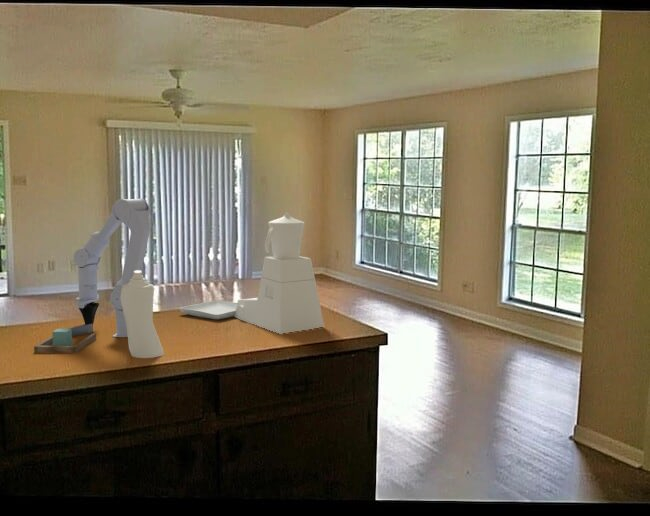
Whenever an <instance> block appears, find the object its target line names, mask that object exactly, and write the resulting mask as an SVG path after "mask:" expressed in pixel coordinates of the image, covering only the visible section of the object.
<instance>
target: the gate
mask: <svg viewBox="0 0 650 516" xmlns="http://www.w3.org/2000/svg"><path fill="white" fill-rule="evenodd" d="M64 329H72V338H73V337H77V336H83V335H87V334H92V333H94V323H93V324H92V323H89V324H85V323H83V324H80V325H75V326H71V327H66V328H64ZM91 332H92V333H91ZM82 334H83V335H82Z"/></svg>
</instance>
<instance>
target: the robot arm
mask: <svg viewBox="0 0 650 516" xmlns="http://www.w3.org/2000/svg"><path fill="white" fill-rule="evenodd" d="M151 210H152V208H151V207H150V205H149V203H148V202H147V201H146V200H145V199H144V198H127V199H125V198H119V199H117V200H116V201H115V203H114V205H112V206H111V212H110V214H109V215H108V218H107V219H106V221H105V222H104V224H103V225H102V227H101V228H100V230H99V231H95V232H93V233H91V234H90V238H89V239H88V240H87V242H86V243H85V244H84V245H83V247H82V248H79V249H76V250H75V252H74V253H73V262H74V264H75V265H76V266H77V271H78V272H77V273H78V277H77V278H78V297H76V298H75V301H77V302H76V307H77V309H78V310H79V311H80V313H81V315H82V318H83V322H84V324H89V323H92V324H93V325H94V322H95V317H96V314H97V310H98V309H99V307H100V303H99V302H97V301H99V300H100V294H98V269H99V264H100V262H101V255H102V253H104V251H105V250H106V249H107V247H108V246H109V244H110V237H112V235H113V234H114V232H116V230H117V229H118V228H119V227H120V226H121V225H122V224H123V225H125V227H127V228H128V229H129V230H130V235H129V240H128V246H127V250H126V255H125V260H124V266H123V271H122V275H121V278H120V279H119V280H118V281H117V282H116V284H115V285H114V289H113V291H112V292H111V293H110V298H109V299H110V304H111V305H112V307H113V308H114V310H115V316H116V317H115V318H116V319H115V322H116V325H115V326H116V333H115V334H113V335H112V338H114V337H128V336H127V328H126V321H125V316H124V312H123V308H122V303H121V299H120V296H121V290H122V288H123V287H122V286H123V285H125V284H128V283H129V282H130V279H132V278H133V276H134V271H135V270H140V271H142V270H143V266H144V260H145V256H146V253H147V248H148V243H149V238H150V234H151V222H150V214H151ZM142 272H143V271H142Z"/></svg>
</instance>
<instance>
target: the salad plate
mask: <svg viewBox="0 0 650 516" xmlns="http://www.w3.org/2000/svg"><path fill="white" fill-rule="evenodd" d="M236 306H237V302H233V301H226V300H219V299H218V300H211V301H206V302H201V303H200V302H199V303H195V304H191V305H185V306H181V307H178V310H179V311H180V312H182V313H184V314H186V315H189V316H193V317H198V318H205V319H210V320H224V319H230V318H233V317H234V314H235V310H236ZM234 318H235V317H234Z"/></svg>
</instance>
